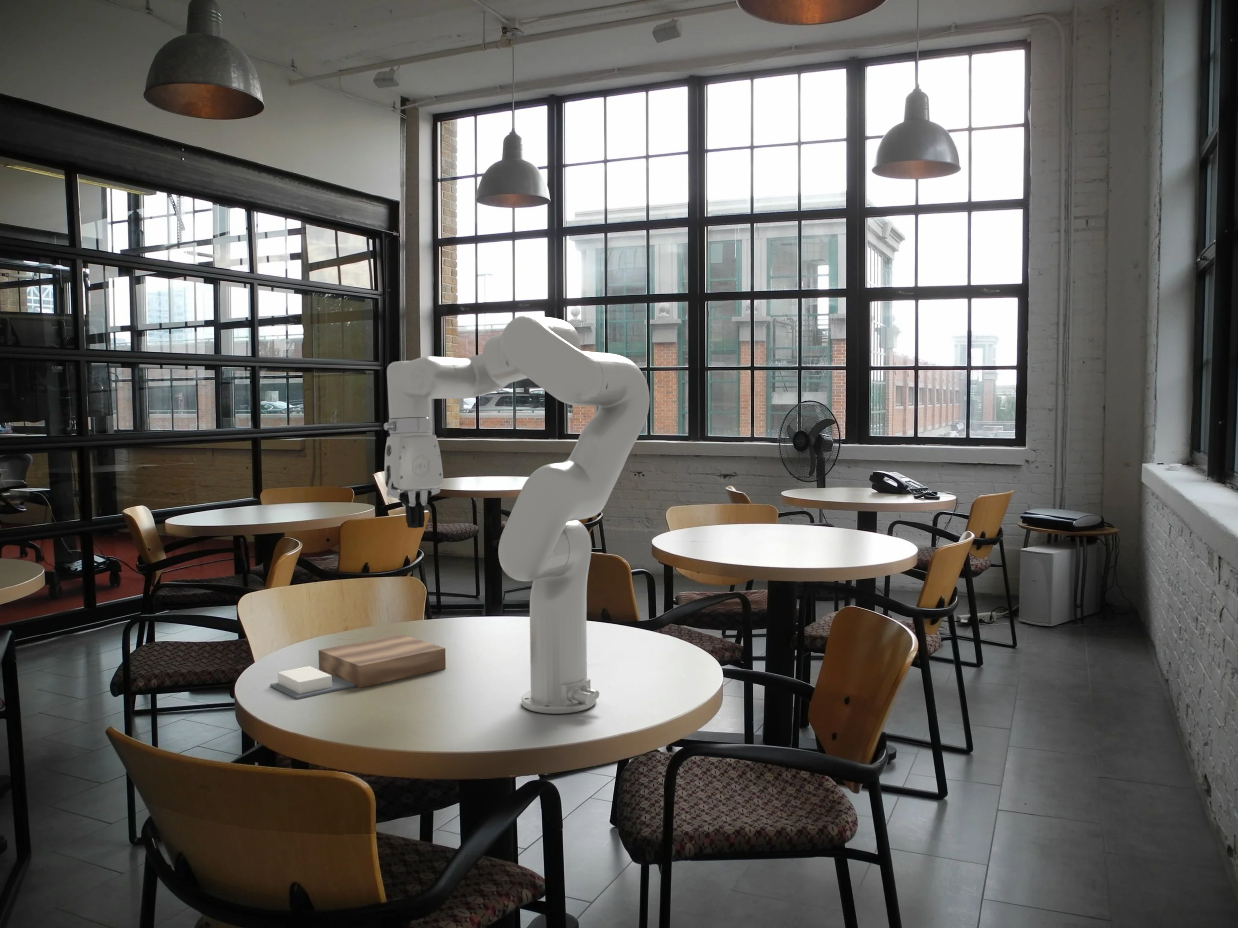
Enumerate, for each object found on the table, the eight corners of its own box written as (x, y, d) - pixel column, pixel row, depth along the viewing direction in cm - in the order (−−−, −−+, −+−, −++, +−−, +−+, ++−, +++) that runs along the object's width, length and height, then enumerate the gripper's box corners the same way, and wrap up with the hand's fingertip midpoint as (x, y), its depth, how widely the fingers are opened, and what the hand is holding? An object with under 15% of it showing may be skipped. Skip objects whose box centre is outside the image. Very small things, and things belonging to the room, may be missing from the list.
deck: (445, 668, 181) (445, 648, 180) (359, 687, 168) (359, 665, 168) (402, 653, 192) (401, 634, 192) (318, 670, 180) (318, 649, 180)
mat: (354, 686, 169) (354, 684, 169) (297, 699, 162) (296, 696, 162) (326, 674, 177) (326, 672, 177) (270, 685, 170) (270, 683, 170)
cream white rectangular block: (299, 682, 164) (299, 693, 164) (331, 675, 168) (332, 686, 168) (277, 672, 170) (278, 682, 170) (309, 665, 174) (309, 676, 174)
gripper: (385, 428, 166) (390, 532, 167) (456, 426, 176) (461, 524, 177) (363, 430, 171) (369, 530, 172) (434, 428, 182) (438, 522, 182)
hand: (415, 527), depth 174 cm, fingers closed
